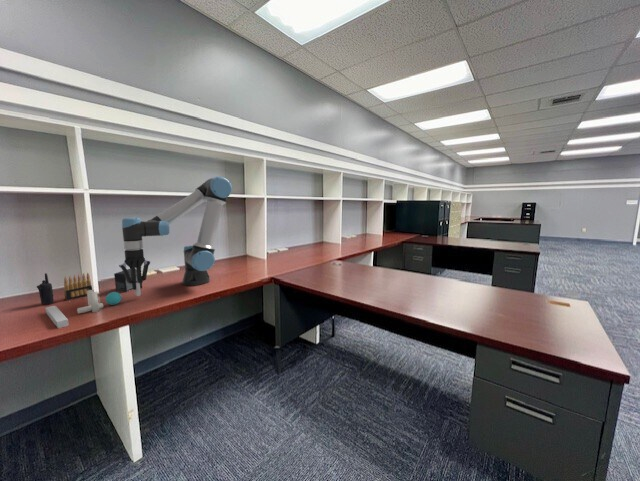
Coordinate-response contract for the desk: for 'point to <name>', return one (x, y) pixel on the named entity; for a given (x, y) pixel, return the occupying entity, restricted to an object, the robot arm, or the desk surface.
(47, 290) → the two-way radio
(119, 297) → the ball
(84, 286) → the ammunition clip
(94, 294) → the back left pin
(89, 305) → the back right pin
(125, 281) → the small box
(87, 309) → the front pin
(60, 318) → the white rectangular eraser
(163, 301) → the desk surface
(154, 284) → the desk surface
